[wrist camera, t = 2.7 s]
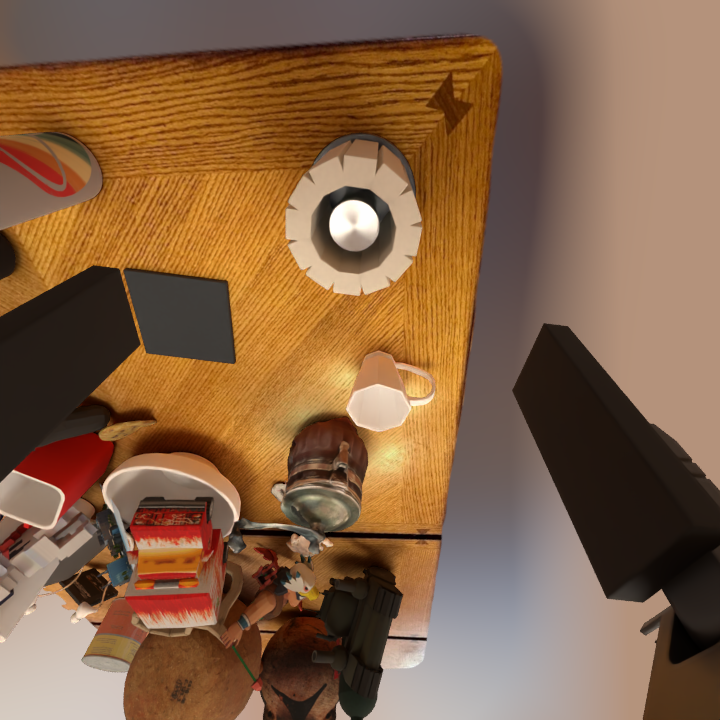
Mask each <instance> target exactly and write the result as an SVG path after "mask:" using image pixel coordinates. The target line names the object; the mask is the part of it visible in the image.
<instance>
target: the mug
mask: <svg viewBox="0 0 720 720" xmlns="http://www.w3.org/2000/svg"><path fill="white" fill-rule="evenodd" d="M113 451H114V445H113V444H112V442H111V441H104V440H102V439H101V438H100V437H99V435H97V434H94V433H88V434H84V435H80V436H76V437H72V438H68V439H63V440H59V441H56V442H53V443H50V444H48V445H45V446H43V447H37V448H35V451H32V452H31V453H30V454H29V455H28V456H27V457H26V458H25V459H24V460H23V461H22V462H21V463H20V464H19V465H18V466H17V467H16V468H15V469H14V470H13V471H12V472H11V473H10V474H9V475H8V476H7V477H6V478H5V479H4V480H3V481H2V482H1V483H0V514H1V515H4V516H7V517H10V518H12V519H15V520H18V521H21V522H23V523H24V527H25V528H27V529H30V528H31V527H33V526H34V527H37V528H40V529H45V530H48V529H53V528H54V526H55V525H56V524H57V522H58V520H59V519H60V518H61V517H62V516H63V515H64V514H65V513H66V512H67V511H68V510H69V509H70V508H71V507H72V505H73V504H74V503H75V502H76V501H77V500H78V499H79V498H80V497H81V496H82V495H83V494H84V493H85V492H86V491H87V490H88V489H89V488H90V487H91V486H92V485H93V484H94V483H95V482H96V481H97V480H98V479H99V478H100V477H101V476H102V475H103V474H104V473H105V471H106V469H107V466H108V463H109V461H110V458H111V456H112V453H113Z"/></svg>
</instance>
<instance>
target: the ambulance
mask: <svg viewBox="0 0 720 720" xmlns="http://www.w3.org/2000/svg"><path fill="white" fill-rule="evenodd" d="M213 507H214V498H213V497H196V498H195V499H194V500H174V499H173V500H165V498H164V497H145V498H144V499H143V500H141V501H140V503H139V506H138V509H137V510H136V512H135V514H134V517H133V519H132V522H131V524H130V529H131V532H132V535H133V537H134V540H135V542H136V545H137V547H138V550H135V551H127V555H128V560H129V564H135V567H134V570H133V573H132V575H131V578H130V581H129V584H128V587H127V590H126V593H125V596H124V597H125V599H126V601H127V602H128V603H129V604H130V606H131V607H132V608H133V610H134V611H135V612H136V614H137V615H138V616H139V618H140V619H141V620H142V622H143V623H144V624H145V625H146V627H147V628H148V629H150V628H186V627H196V626H205V625H215V624H216V623H217V621H218V615H219V609H220V603H221V597H222V591H223V586H224V580H225V574H226V568H227V557H228V550H229V545H228V544H227V543H228V542H223V536H222V530H221V529H213V528H212V522H211V518H212V513H213ZM149 616H150V619H151V621H150V619H149ZM151 622H152V623H151Z"/></svg>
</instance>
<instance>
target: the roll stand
mask: <svg viewBox="0 0 720 720" xmlns="http://www.w3.org/2000/svg"><path fill="white" fill-rule="evenodd" d="M355 139H359V140H366V141H373V142H378V143H379V144H378V151H379V150H380V148H381V147H382V145H384V146H385V147H386V148H388V149H389V150H390V151H391V152H392V153H393V154H394V155H395V156H397V157H398V158H399V159H400V160H401V163H402V165H404V167H405V170H406V173H407V176H408V178H409V181H410V184H411V187H412V190H413V193H414V196H415V198H416V188H415V181H414V177H413V173H412V170H411V168H410V165H409V163H408V161H407V160H406V158H405V156H404V155H403V154H402V152H401V151H400V150H399V149H398V148H397V147H396V146H395V145H394V144H392V143H391V142H390V141H388V140H386V139H385V138H383V137H381V136H378V135H375V134H371V133H362V132H359V133H351V134H347V135H344V136H342V137H339V138H337V139H336V140H334V141H332V142H331V143H330V144H329V145H327V146H326V147H325V148H324V149H323V150H322V151H321V152H320V153H319V155H318V156H317V158H316V159H315V161H314V163H313V165H312V166H314V165H315V164H316V163H317V162H318V161H319V160H320V159H321V158H322V157H323V156H324V155H325V154H326V153H327V152H328V151H330V150H331V149H333V148H335V147H337V146H339V145H341V144H343V143H345V142H347V141H349V140H350V141H351V143H353V142H354V141H355ZM330 204H331V207H332V209H333V211H332V213H331V215H330V219H329V231H330V234H331V237H332V239H333V240H334V242H335V243H336V244H337V245H338V246H339V247H341V248H342V249H344V250H347V251H351V252H359V251H363V250H365V249H367V248H369V247H370V246H371V245H372V244H373V243H374V242H375V241H376V239H377V237H378V234H379V230H380V222H381V221H382V220H383V219H384V217H385V216H386V215H387V213H388V212H389V211H390V209H389V206H388V204H387V203H386V202H384V201H383V200H382V199H381V198H380V197H378V196H377V195H376V194H375V193H374V192H372V191H371V190H370V189H365V188H357V187H350V186H344V187H342V188H340V189H338V190H336V191H334V192H331V193H330Z"/></svg>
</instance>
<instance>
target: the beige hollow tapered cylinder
mask: <svg viewBox="0 0 720 720" xmlns="http://www.w3.org/2000/svg"><path fill="white" fill-rule="evenodd" d="M378 144H379V143H378V142H373V141H366V140H359V139H355V141H354V142H353V143H351V141H350V140H349V141H347V142H345V143H343V144H341V145H339V146H337V147H335V148H333V149H331V150H330V151H328V152H327V153H326V154H325V155H324V156H323V157H322V158H321V159H320V160H319V161H318V162H317V163H316V164H315V165H314V166H312V167H311V168H310V169H309V170H308V171H307V172H306V173H305V174H304V175H303V176H302V178H301V179H300V181H299V183H298V185H297V186H296V188H295V190H294V191H293V193H292V195H291V197H290V198H289V200H288V203H289V205H288V207H287V208H286V239H290V240H291V241H290V242H289V244H288V247H289V249H290V251H291V252H292V254H293V256H294V258H295V260H296V262H297V263H298V265H299V267H300V269H301V270H303V269H306V268H308V270H307V272H306V276H308V277H309V278H311V279H312V280H314V281H315V282H317V283H318V284H320V285H321V286H322V287H324V288H325V289H327V290H328V289H329V288H330V287H331V286H332V284H333V283H334V287H333V292H334V293H341V294H349V295H357V296H360V291H361V287H362V289H363V292H364V294H365V295H367V294H369V293H372V292H375V291H378V290H380V289H383V288H386V287H388V286H390V279H391V280H392V281H394V282H396V281H397V280H398V279H399V277H400V276H401V275H402V274H403V273H404V272H405V270H406V269H407V268H408V267H409V266H410V265H411V264H412V262H413V259H412V256H416V255H417V250H418V245H419V241H420V236H421V231H422V225H421V222H420V221H422V218H421V215H420V212H419V209H418V206H417V202H416V199H415V196H414V193H413V190H412V187H411V184H410V181H409V178H408V176H407V173H406V170H405V167H404V165H402V163H401V160H400V159H399V158H398V157H397V156H395V155H394V154H393V153H392V152H391V151H390V150H389V149H388V148H386V147H385V146H384V145H382V147H381V148H380V150H379V151H378ZM344 186H350V187H357V188H365V189H370V190H371V191H372V192H374V193H375V194H376V195H377V196H378V197H380V198H381V199H382V200H383V201H384V202H386V203H387V204H388V206H389V209H390V211H389V212H388V213H387V215H386V216H385V217H384V219H383V220H382V221H381V222H380V230H379V234H378V237H377V239H376V241H375V242H374V243H373V244H372V245H371V246H370V247H369V248H367V249H365V250H363V251H359V252H351V251H347V250H344V249H342V248H341V247H339V246H338V245H337V244H336V243H335V242H334V240H333V239H332V237H331V234H330V231H329V219H330V215H331V213H332V211H333V209H332V207H331V204H330V193H331V192H334V191H336V190H338V189H340V188H342V187H344Z"/></svg>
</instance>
